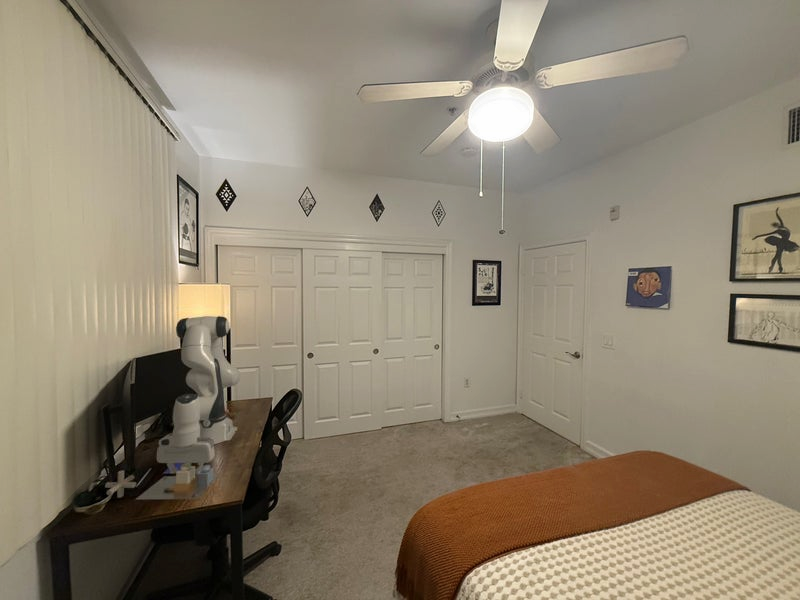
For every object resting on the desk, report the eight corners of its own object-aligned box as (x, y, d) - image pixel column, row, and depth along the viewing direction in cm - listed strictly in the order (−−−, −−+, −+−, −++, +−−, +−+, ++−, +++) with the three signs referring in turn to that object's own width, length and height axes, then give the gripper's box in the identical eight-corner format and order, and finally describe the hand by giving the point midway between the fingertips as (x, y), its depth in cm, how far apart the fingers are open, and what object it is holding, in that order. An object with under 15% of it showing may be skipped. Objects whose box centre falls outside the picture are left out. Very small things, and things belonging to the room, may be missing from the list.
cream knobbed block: (183, 477, 123) (183, 462, 123) (194, 477, 123) (195, 462, 123) (176, 483, 118) (176, 468, 118) (187, 483, 119) (188, 468, 119)
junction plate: (164, 478, 130) (164, 475, 130) (217, 477, 131) (217, 475, 131) (135, 501, 115) (135, 498, 115) (195, 500, 116) (196, 497, 116)
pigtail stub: (168, 486, 123) (168, 476, 123) (196, 486, 123) (197, 476, 123) (158, 495, 118) (158, 484, 118) (188, 495, 118) (188, 484, 118)
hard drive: (183, 471, 134) (196, 457, 146) (162, 473, 132) (177, 458, 144) (183, 475, 133) (196, 460, 146) (162, 476, 132) (177, 461, 144)
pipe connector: (144, 490, 122) (145, 464, 122) (122, 507, 112) (123, 479, 112) (118, 490, 122) (119, 464, 122) (94, 506, 112) (94, 479, 112)
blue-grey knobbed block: (202, 478, 129) (203, 464, 129) (213, 478, 129) (213, 464, 129) (196, 484, 125) (196, 470, 125) (207, 484, 125) (207, 469, 125)
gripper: (218, 433, 124) (217, 468, 124) (165, 433, 123) (165, 468, 123) (209, 441, 118) (208, 477, 118) (154, 441, 117) (153, 477, 117)
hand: (185, 472), depth 121 cm, fingers open, 8 cm apart
